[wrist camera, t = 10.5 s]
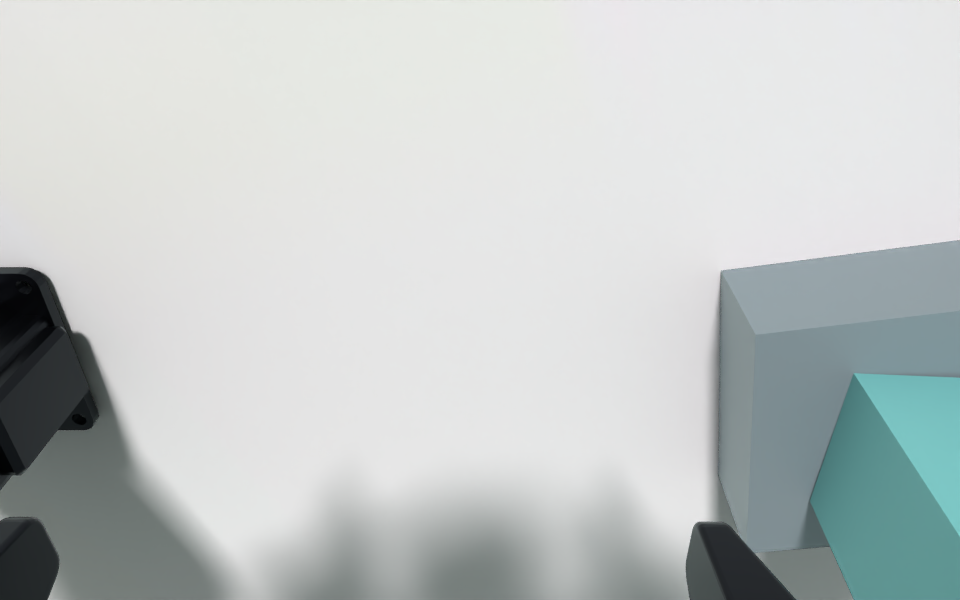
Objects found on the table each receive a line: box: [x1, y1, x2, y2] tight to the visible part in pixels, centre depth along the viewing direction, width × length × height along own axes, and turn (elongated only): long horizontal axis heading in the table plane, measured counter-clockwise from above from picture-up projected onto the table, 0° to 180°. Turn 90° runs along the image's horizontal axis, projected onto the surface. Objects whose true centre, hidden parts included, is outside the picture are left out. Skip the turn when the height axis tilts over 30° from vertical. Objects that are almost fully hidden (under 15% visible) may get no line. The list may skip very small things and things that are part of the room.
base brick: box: [718, 240, 960, 553], centre depth 23 cm, size 9×9×4 cm
